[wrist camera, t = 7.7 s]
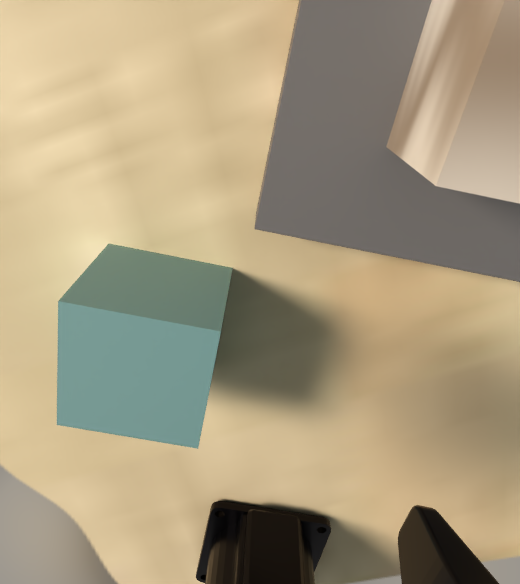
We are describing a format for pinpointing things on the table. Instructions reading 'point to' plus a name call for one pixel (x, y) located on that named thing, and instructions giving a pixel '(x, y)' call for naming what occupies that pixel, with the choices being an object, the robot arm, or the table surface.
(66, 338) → the teal block
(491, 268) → the base board
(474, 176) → the cream block
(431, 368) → the table surface
